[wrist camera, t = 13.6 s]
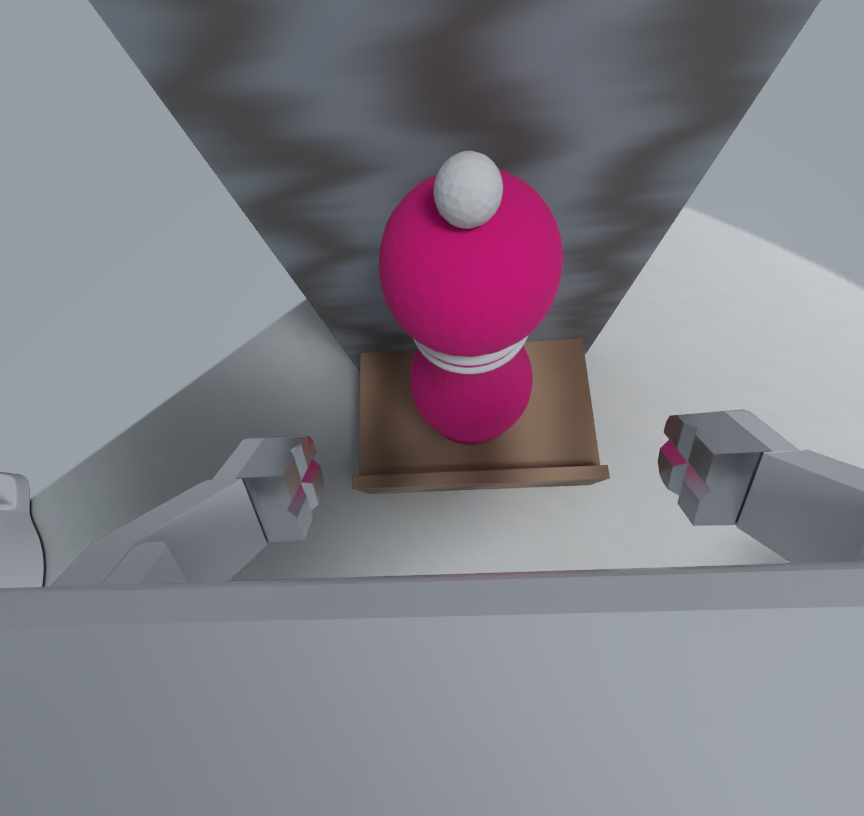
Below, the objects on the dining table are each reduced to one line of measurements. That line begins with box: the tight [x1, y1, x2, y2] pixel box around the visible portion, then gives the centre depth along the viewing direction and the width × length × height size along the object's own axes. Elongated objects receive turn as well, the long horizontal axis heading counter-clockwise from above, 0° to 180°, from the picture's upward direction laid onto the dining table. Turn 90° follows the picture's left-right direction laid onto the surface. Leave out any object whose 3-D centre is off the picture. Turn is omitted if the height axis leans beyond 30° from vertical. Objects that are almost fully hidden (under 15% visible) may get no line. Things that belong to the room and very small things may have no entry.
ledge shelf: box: [89, 0, 821, 494], centre depth 18 cm, size 18×11×28 cm, turn 92°
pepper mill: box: [379, 151, 563, 445], centre depth 19 cm, size 7×7×20 cm
